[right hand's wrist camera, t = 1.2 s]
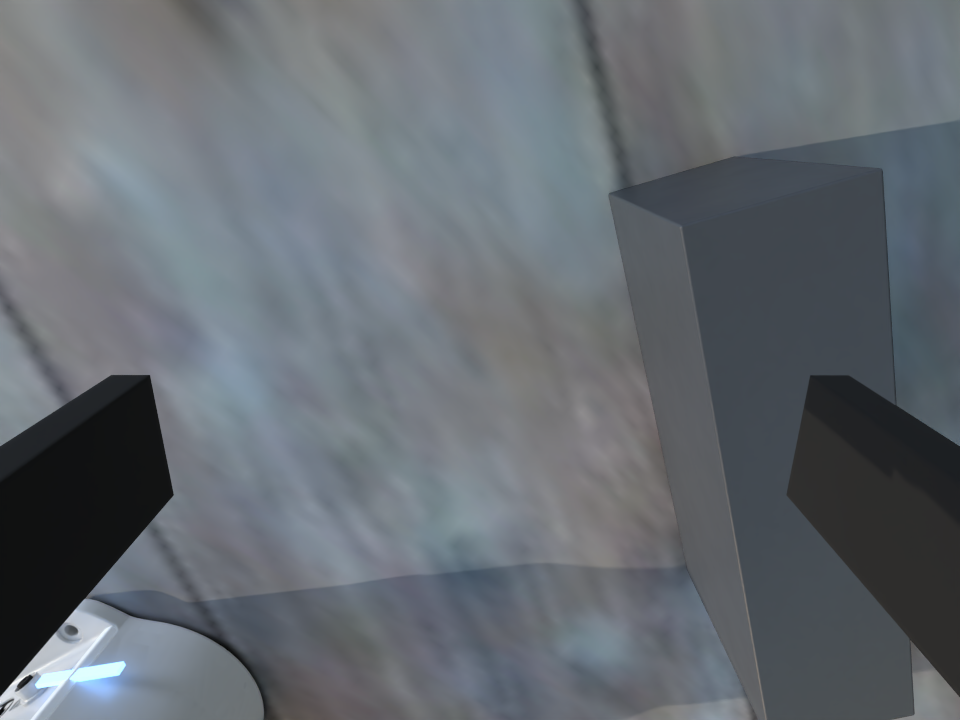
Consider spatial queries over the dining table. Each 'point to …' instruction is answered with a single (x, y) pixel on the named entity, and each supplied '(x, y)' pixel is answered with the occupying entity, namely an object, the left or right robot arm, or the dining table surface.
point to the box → (766, 411)
